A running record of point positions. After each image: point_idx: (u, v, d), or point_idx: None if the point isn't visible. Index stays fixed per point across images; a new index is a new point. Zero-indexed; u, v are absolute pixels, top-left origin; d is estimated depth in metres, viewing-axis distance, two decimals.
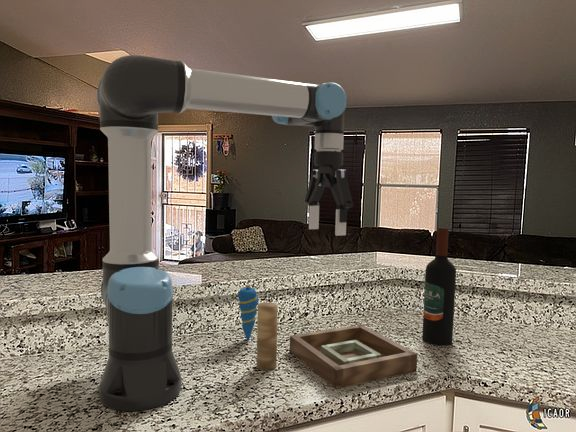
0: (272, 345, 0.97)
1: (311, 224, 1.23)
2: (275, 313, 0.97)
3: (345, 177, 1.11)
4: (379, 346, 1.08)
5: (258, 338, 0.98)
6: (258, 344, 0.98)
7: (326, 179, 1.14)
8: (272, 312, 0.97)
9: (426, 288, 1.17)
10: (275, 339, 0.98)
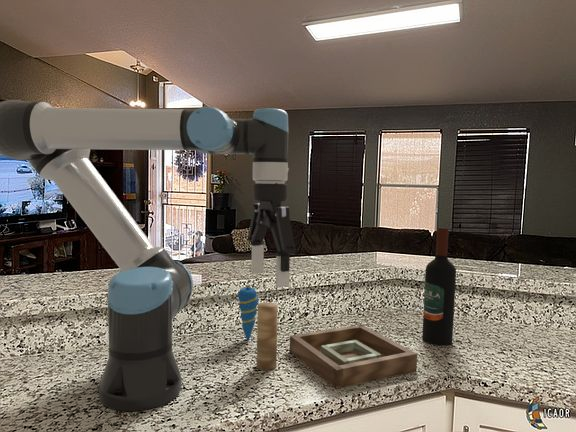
0: (272, 345, 0.97)
1: (254, 268, 1.03)
2: (275, 313, 0.97)
3: (287, 216, 0.91)
4: (379, 346, 1.08)
5: (258, 338, 0.98)
6: (258, 344, 0.98)
7: (266, 217, 0.94)
8: (272, 312, 0.97)
9: (426, 288, 1.17)
10: (275, 339, 0.98)
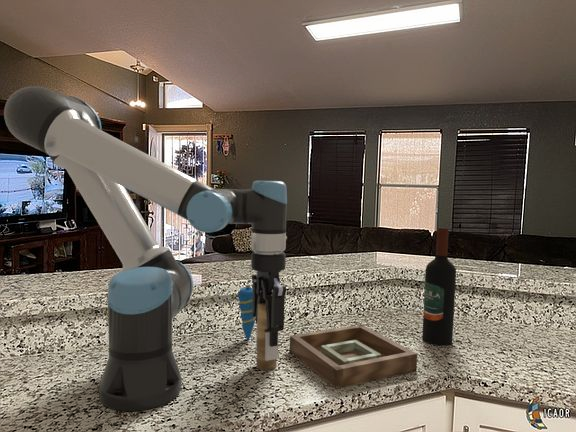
0: None
1: None
2: None
3: (283, 295, 0.93)
4: (379, 346, 1.08)
5: (258, 338, 0.98)
6: (258, 344, 0.98)
7: (263, 288, 0.96)
8: None
9: (426, 288, 1.17)
10: None
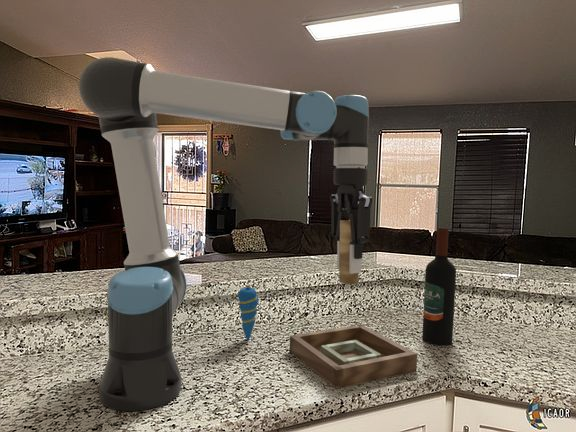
0: None
1: None
2: None
3: (369, 206, 0.95)
4: (379, 346, 1.08)
5: (341, 253, 1.00)
6: (341, 259, 1.00)
7: (347, 202, 0.98)
8: None
9: (426, 288, 1.17)
10: None
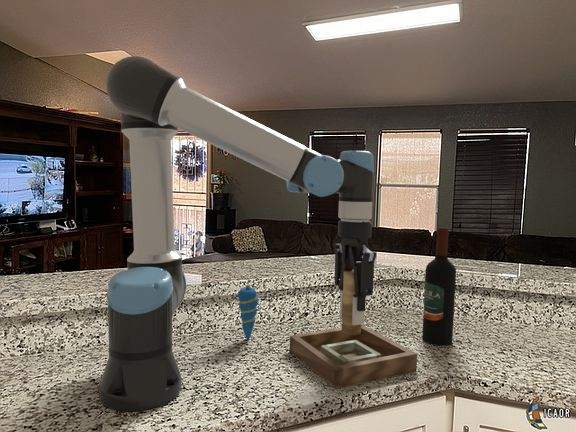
0: None
1: None
2: None
3: (372, 261, 0.97)
4: (379, 346, 1.08)
5: (344, 304, 1.01)
6: (344, 309, 1.01)
7: (351, 255, 0.99)
8: None
9: (426, 288, 1.17)
10: None
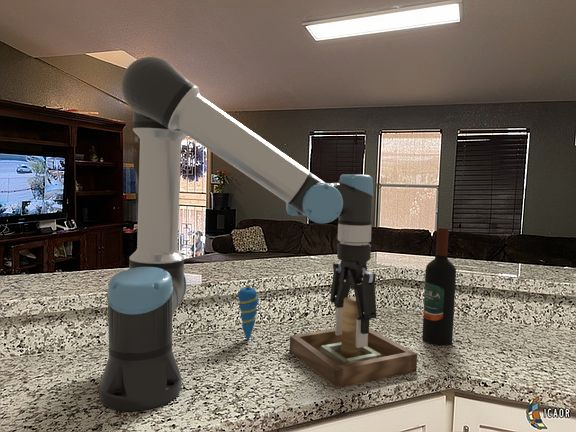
0: None
1: (338, 329, 1.06)
2: None
3: (373, 282, 0.97)
4: (379, 346, 1.08)
5: (344, 331, 1.02)
6: (344, 337, 1.02)
7: (351, 277, 1.00)
8: None
9: (426, 288, 1.17)
10: None
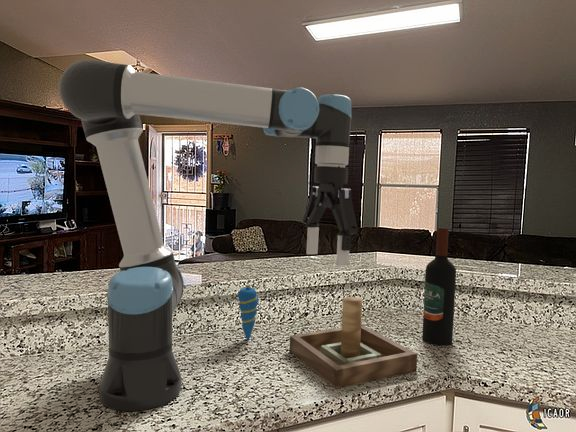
0: (357, 338, 1.01)
1: (309, 248, 1.07)
2: (360, 307, 1.01)
3: (349, 198, 0.95)
4: (379, 346, 1.08)
5: (343, 331, 1.02)
6: (343, 337, 1.02)
7: (327, 199, 0.98)
8: (358, 306, 1.01)
9: (426, 288, 1.17)
10: (360, 332, 1.02)
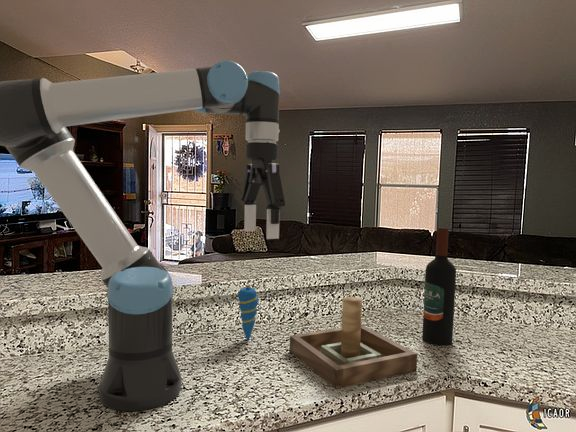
0: (357, 338, 1.01)
1: (246, 226, 1.09)
2: (360, 307, 1.01)
3: (277, 172, 0.97)
4: (379, 346, 1.08)
5: (343, 331, 1.02)
6: (343, 337, 1.02)
7: (258, 174, 1.00)
8: (358, 306, 1.01)
9: (426, 288, 1.17)
10: (360, 332, 1.02)
